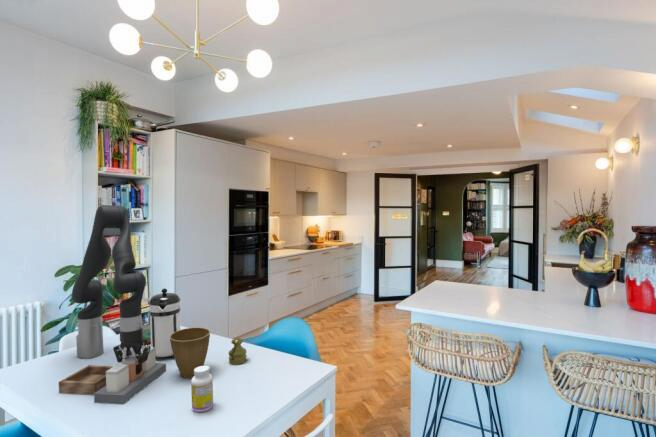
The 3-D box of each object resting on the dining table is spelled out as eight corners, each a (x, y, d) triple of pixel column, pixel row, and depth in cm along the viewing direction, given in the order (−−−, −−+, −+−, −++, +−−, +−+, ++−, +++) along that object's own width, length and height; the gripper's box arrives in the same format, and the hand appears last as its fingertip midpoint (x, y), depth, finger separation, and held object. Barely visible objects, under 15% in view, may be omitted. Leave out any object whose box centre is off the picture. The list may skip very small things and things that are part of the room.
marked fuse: (132, 388, 134) (132, 361, 133) (122, 388, 134) (121, 361, 134) (143, 381, 140) (142, 354, 139) (133, 380, 140) (132, 354, 140)
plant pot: (164, 374, 145) (162, 334, 145) (199, 362, 156) (198, 325, 156) (181, 386, 135) (180, 343, 135) (218, 372, 146) (217, 332, 145)
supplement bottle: (195, 402, 124) (194, 364, 123) (215, 401, 124) (214, 363, 124) (189, 413, 117) (188, 373, 117) (210, 412, 118) (209, 372, 117)
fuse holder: (123, 403, 124) (123, 395, 124) (94, 402, 125) (93, 393, 125) (166, 370, 149) (165, 363, 149) (141, 369, 150) (140, 362, 150)
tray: (59, 393, 132) (58, 381, 132) (89, 375, 146) (88, 365, 146) (94, 394, 130) (94, 383, 130) (121, 376, 144) (121, 366, 144)
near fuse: (117, 401, 126) (116, 372, 125) (106, 400, 126) (105, 371, 126) (129, 392, 132) (128, 364, 131) (119, 391, 132) (118, 364, 132)
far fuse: (146, 379, 142) (145, 353, 141) (136, 378, 142) (136, 353, 142) (155, 372, 147) (155, 347, 147) (146, 371, 148) (145, 347, 148)
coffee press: (193, 352, 167) (191, 286, 166) (161, 365, 154) (158, 293, 153) (169, 345, 176) (168, 282, 176) (137, 357, 163) (135, 289, 162)
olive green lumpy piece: (225, 363, 155) (224, 340, 154) (235, 356, 161) (235, 334, 161) (239, 366, 152) (239, 342, 151) (250, 359, 159) (249, 336, 158)
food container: (147, 348, 173) (146, 327, 173) (135, 347, 175) (134, 326, 174) (163, 338, 185) (163, 319, 185) (153, 338, 187) (152, 318, 186)
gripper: (155, 324, 139) (156, 369, 140) (120, 323, 141) (122, 368, 141) (142, 331, 132) (144, 379, 132) (106, 330, 133) (107, 377, 134)
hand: (132, 373), depth 137 cm, fingers closed on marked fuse, 4 cm apart
